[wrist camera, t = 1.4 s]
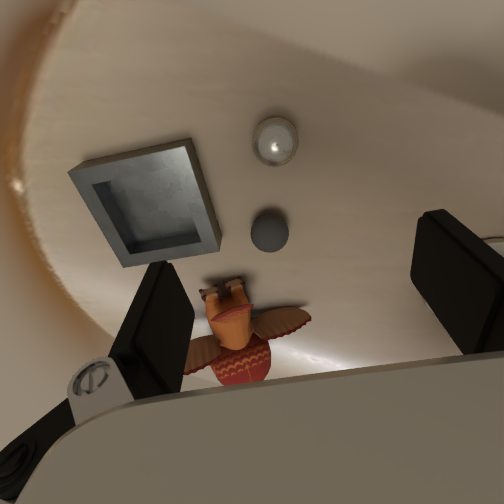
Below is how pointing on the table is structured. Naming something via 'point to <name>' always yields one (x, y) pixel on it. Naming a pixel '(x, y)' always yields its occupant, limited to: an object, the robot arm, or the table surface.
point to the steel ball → (274, 141)
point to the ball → (269, 233)
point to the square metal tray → (150, 203)
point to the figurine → (239, 336)
